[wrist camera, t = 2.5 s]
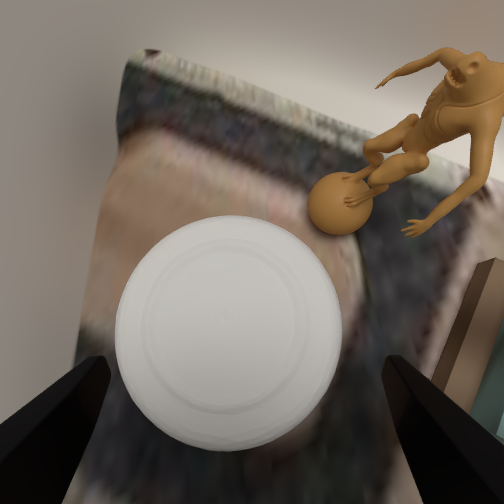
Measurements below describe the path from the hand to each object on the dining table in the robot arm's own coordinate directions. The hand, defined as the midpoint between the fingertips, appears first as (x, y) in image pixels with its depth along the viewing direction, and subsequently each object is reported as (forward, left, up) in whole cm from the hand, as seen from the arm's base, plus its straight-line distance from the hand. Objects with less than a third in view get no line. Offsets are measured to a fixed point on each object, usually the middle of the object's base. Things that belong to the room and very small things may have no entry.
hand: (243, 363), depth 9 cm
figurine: (+10, -5, -9) cm, 15 cm away
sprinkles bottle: (+1, 0, -9) cm, 9 cm away
